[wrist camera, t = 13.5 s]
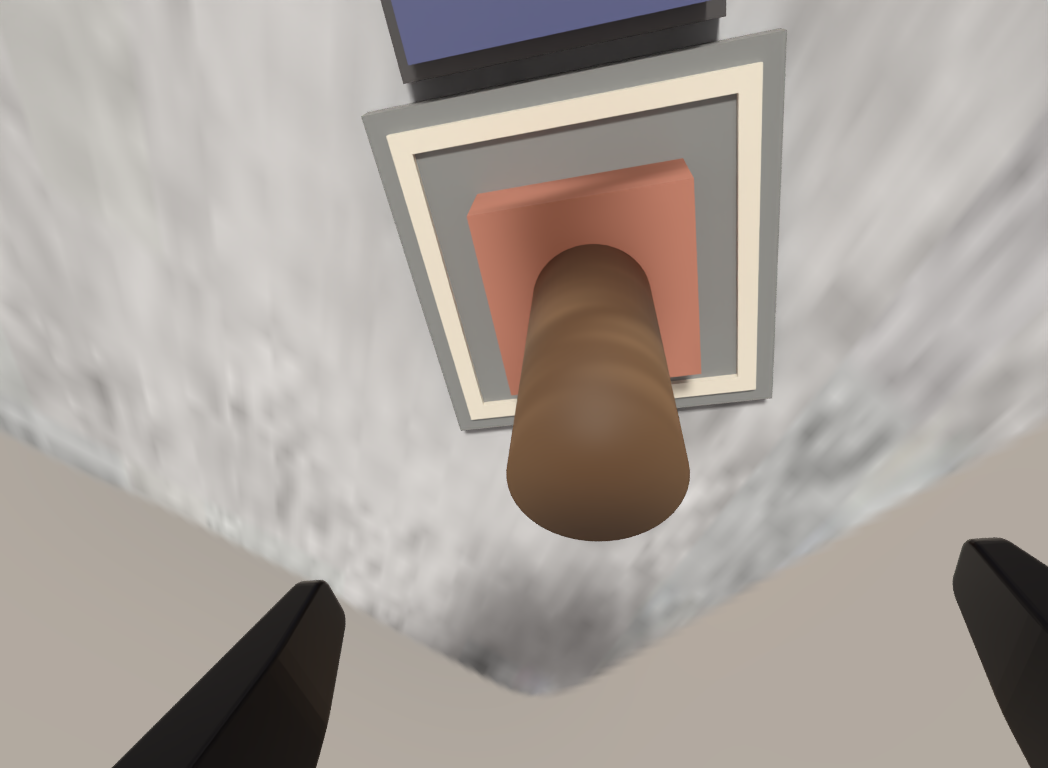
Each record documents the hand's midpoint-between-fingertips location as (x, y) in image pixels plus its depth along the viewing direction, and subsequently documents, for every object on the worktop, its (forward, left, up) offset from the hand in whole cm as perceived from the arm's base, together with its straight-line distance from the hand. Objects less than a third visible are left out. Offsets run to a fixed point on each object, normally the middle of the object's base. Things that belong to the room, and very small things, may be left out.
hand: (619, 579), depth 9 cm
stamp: (0, +1, -12) cm, 12 cm away
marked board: (0, +1, -13) cm, 13 cm away
